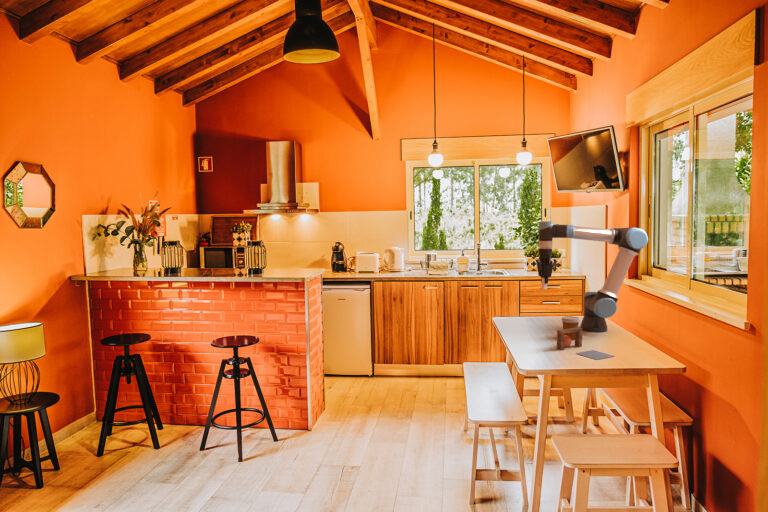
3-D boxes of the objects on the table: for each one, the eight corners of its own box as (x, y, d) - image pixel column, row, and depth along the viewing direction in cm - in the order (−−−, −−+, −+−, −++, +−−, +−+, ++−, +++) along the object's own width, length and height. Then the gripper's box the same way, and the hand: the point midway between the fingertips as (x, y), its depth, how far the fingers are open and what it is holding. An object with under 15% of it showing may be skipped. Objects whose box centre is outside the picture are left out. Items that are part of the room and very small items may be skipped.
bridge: (556, 348, 266) (557, 330, 266) (577, 345, 274) (577, 327, 273) (561, 350, 264) (561, 331, 263) (581, 346, 271) (582, 328, 270)
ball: (574, 346, 270) (564, 347, 274) (573, 334, 271) (562, 335, 276) (568, 346, 266) (558, 347, 271) (567, 334, 268) (556, 335, 272)
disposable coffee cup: (580, 341, 283) (581, 319, 282) (562, 340, 285) (562, 318, 284) (577, 337, 292) (578, 316, 291) (560, 336, 294) (560, 315, 293)
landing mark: (593, 350, 263) (593, 350, 263) (615, 356, 252) (615, 356, 252) (575, 353, 257) (575, 353, 257) (596, 359, 246) (596, 359, 246)
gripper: (532, 247, 301) (531, 288, 303) (549, 249, 289) (548, 290, 291) (541, 247, 304) (541, 287, 306) (558, 248, 293) (557, 289, 295)
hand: (544, 288), depth 299 cm, fingers closed
